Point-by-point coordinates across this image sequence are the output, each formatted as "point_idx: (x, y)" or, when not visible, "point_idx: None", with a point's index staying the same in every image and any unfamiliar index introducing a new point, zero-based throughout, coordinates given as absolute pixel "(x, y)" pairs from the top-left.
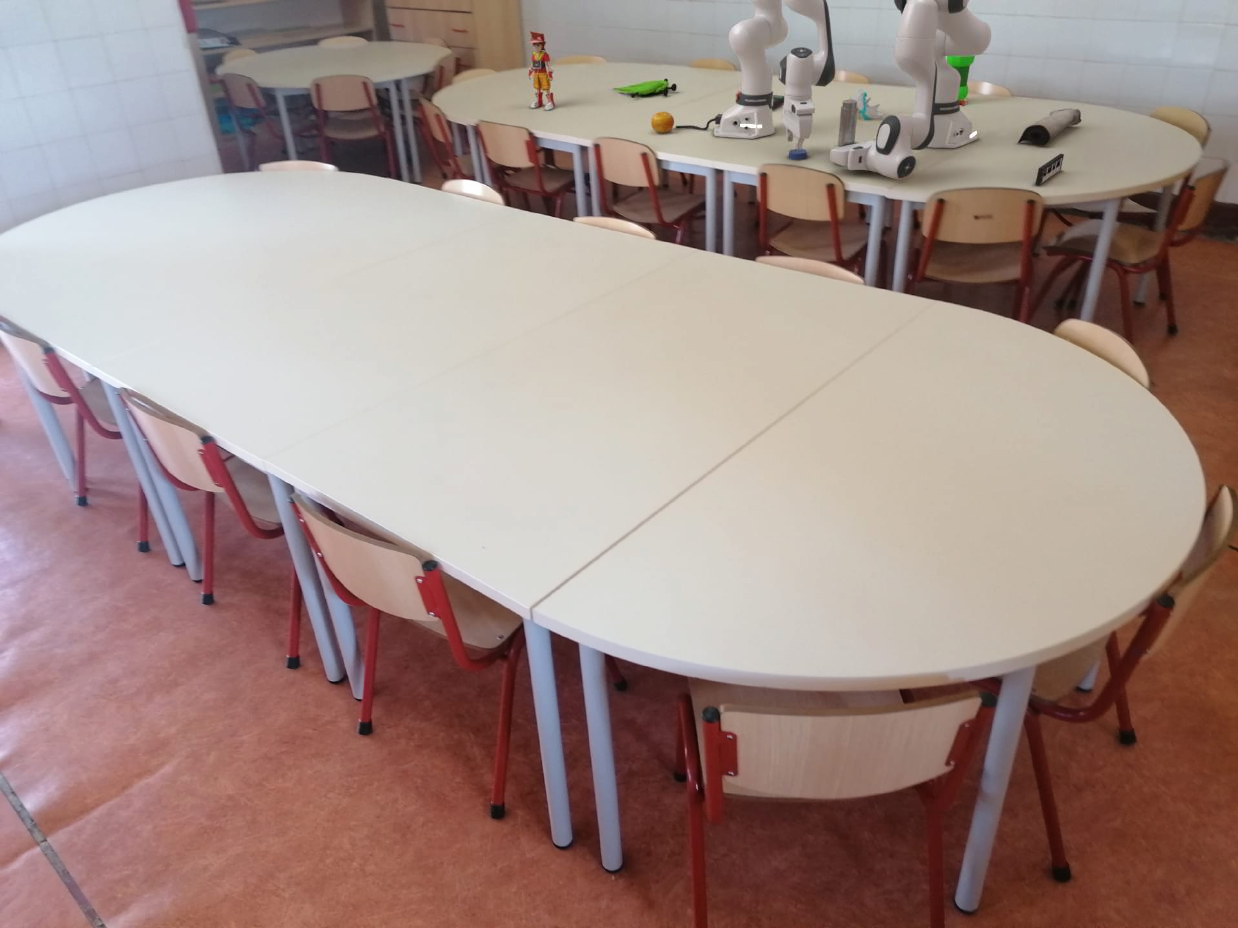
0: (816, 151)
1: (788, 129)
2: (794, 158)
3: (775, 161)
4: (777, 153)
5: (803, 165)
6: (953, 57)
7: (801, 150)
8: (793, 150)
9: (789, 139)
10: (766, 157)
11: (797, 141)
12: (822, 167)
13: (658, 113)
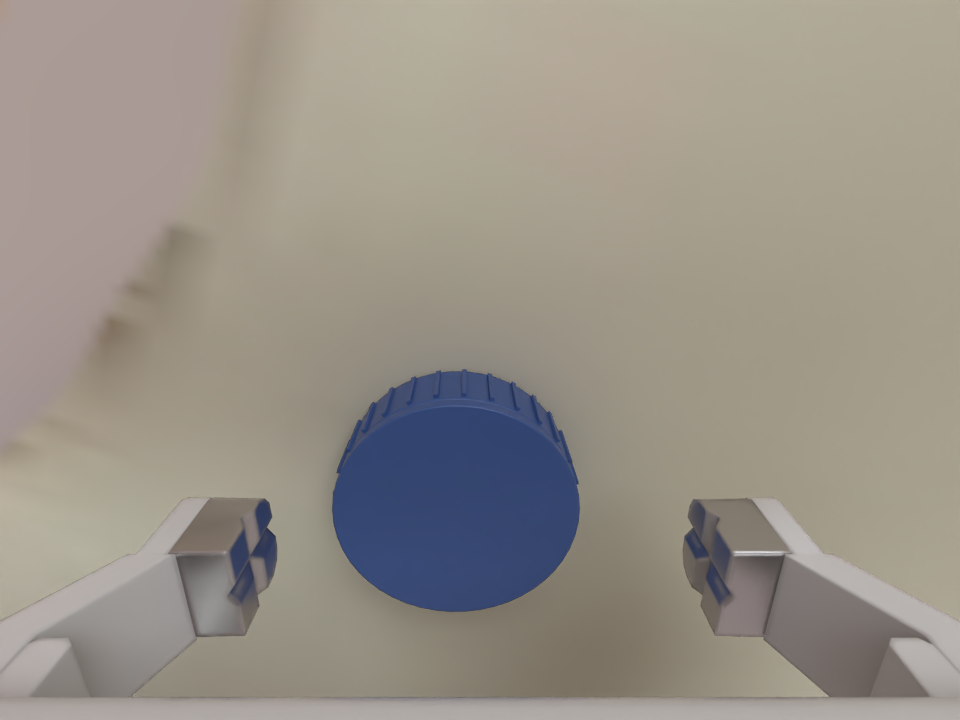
0: (605, 688)
1: (896, 687)
2: (366, 416)
3: (372, 139)
4: (741, 292)
5: (109, 439)
6: None
7: (475, 565)
8: (515, 476)
9: (708, 539)
10: (627, 63)
11: (63, 604)
12: (8, 594)
13: None
